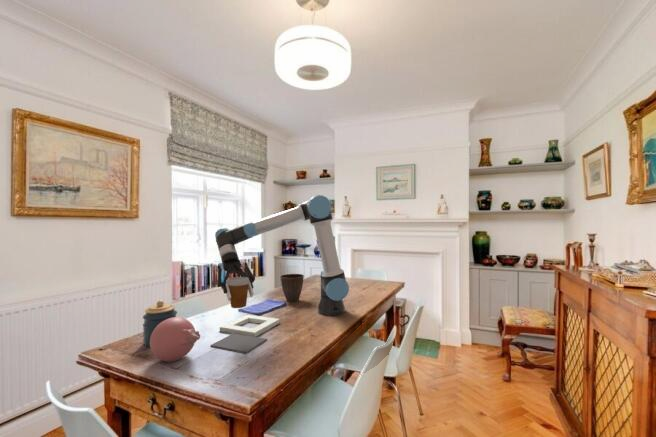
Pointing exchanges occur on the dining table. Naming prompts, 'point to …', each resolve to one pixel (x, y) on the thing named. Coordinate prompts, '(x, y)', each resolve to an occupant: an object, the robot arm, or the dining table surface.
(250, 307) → the dish towel
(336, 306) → the robot arm
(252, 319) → the holder board
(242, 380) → the dining table surface
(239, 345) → the rubber mat
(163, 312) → the canister
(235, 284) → the disposable coffee cup
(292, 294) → the plant pot
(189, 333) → the balloon
